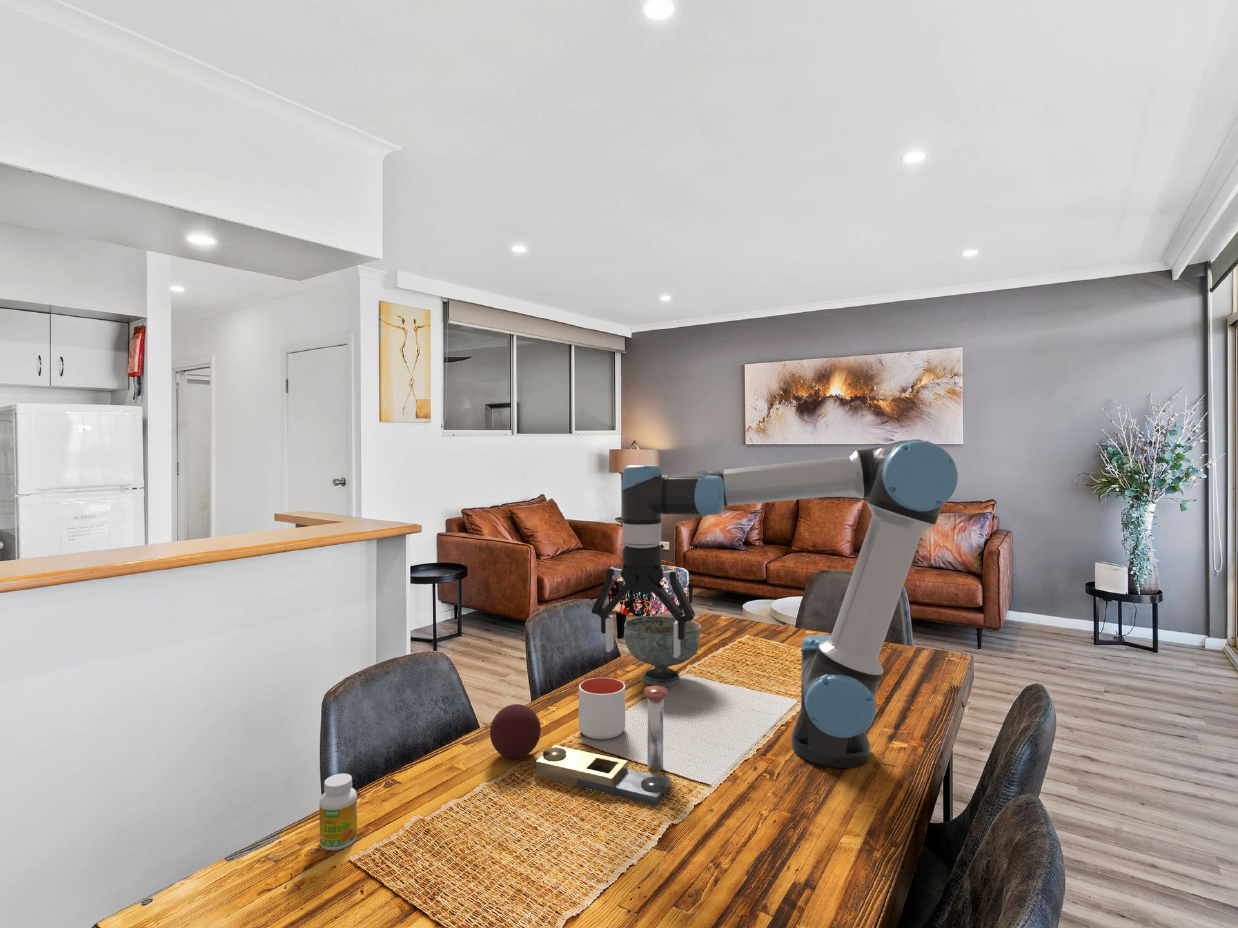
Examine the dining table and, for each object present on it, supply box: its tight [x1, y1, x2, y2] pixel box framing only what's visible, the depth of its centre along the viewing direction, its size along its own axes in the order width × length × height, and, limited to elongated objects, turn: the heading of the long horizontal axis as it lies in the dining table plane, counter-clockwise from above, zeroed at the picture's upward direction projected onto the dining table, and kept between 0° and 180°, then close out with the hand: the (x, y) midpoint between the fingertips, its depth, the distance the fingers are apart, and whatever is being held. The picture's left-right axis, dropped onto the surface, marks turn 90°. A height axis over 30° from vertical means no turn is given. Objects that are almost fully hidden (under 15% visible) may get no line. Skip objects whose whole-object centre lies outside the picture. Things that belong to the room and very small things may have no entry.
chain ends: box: [535, 744, 671, 807], centre depth 121 cm, size 24×7×3 cm, turn 66°
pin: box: [643, 685, 668, 772], centre depth 126 cm, size 4×4×15 cm
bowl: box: [623, 615, 702, 687], centre depth 173 cm, size 20×19×15 cm
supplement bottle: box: [319, 773, 358, 851], centre depth 103 cm, size 5×5×10 cm
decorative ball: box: [489, 703, 542, 759], centre depth 131 cm, size 10×10×10 cm
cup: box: [578, 677, 626, 740], centre depth 142 cm, size 10×10×10 cm
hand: (642, 652), depth 128 cm, fingers open, 13 cm apart
